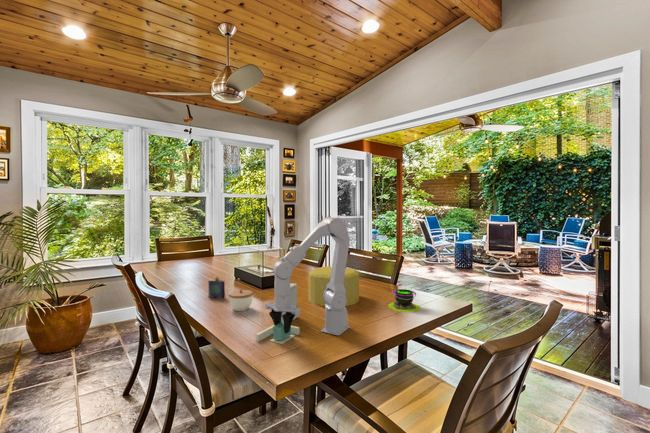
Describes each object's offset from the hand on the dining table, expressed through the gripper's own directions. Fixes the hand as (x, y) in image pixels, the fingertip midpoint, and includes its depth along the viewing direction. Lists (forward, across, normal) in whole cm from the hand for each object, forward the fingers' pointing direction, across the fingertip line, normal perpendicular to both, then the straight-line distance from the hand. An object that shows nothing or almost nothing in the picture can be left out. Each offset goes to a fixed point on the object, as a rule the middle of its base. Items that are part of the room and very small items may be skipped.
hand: (282, 331), depth 118 cm
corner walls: (+3, -2, 0) cm, 3 cm away
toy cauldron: (+3, +28, +58) cm, 65 cm away
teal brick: (+2, 0, 0) cm, 2 cm away
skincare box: (+3, -10, +17) cm, 20 cm away
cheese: (+3, -7, +53) cm, 54 cm away
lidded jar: (+3, -37, +17) cm, 41 cm away
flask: (+3, -62, +25) cm, 67 cm away
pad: (+3, 0, 0) cm, 3 cm away
